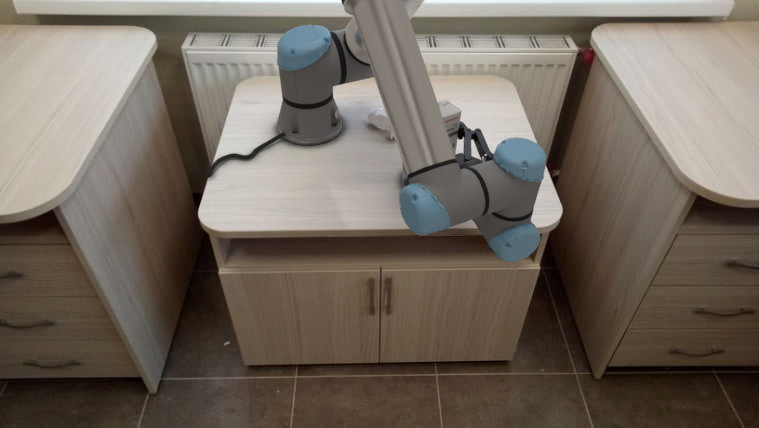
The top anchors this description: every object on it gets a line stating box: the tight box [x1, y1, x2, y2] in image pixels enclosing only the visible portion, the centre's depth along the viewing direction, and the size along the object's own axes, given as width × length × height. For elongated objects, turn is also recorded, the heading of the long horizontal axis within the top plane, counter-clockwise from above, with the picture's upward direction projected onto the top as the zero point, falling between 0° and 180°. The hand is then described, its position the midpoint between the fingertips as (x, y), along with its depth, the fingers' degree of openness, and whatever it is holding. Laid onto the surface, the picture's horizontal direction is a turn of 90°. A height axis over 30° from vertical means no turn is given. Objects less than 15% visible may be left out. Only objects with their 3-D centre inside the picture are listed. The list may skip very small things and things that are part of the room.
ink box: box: [437, 99, 462, 155], centre depth 108 cm, size 9×5×12 cm, turn 123°
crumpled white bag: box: [365, 106, 395, 140], centre depth 129 cm, size 5×7×10 cm
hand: (425, 120), depth 111 cm, fingers closed on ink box, 9 cm apart
